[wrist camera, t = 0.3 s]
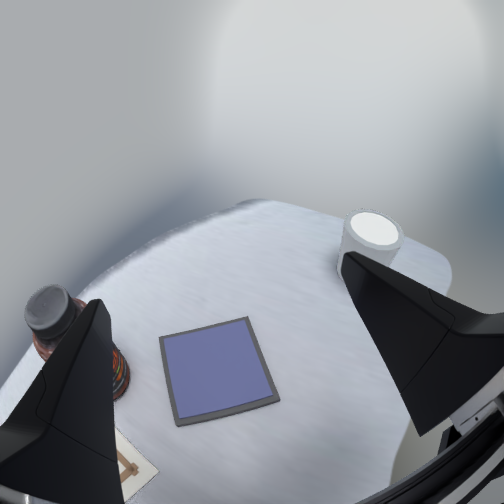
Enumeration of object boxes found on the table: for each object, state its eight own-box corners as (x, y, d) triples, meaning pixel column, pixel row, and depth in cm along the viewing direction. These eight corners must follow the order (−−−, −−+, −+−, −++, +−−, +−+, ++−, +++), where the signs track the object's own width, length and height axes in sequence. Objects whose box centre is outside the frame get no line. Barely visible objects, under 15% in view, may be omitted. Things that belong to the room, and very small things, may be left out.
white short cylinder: (371, 249, 35) (386, 206, 30) (393, 289, 30) (415, 246, 25) (324, 255, 34) (334, 209, 29) (343, 298, 29) (360, 253, 24)
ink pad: (279, 401, 21) (280, 398, 21) (177, 426, 19) (174, 424, 19) (247, 319, 28) (247, 314, 27) (160, 340, 26) (157, 335, 25)
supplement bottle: (124, 411, 20) (58, 352, 12) (72, 395, 20) (1, 332, 12) (138, 355, 24) (92, 277, 17) (89, 346, 24) (35, 270, 17)
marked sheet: (159, 471, 16) (157, 471, 16) (76, 540, 9) (73, 540, 8) (74, 374, 22) (72, 372, 22) (7, 438, 14) (4, 437, 14)
